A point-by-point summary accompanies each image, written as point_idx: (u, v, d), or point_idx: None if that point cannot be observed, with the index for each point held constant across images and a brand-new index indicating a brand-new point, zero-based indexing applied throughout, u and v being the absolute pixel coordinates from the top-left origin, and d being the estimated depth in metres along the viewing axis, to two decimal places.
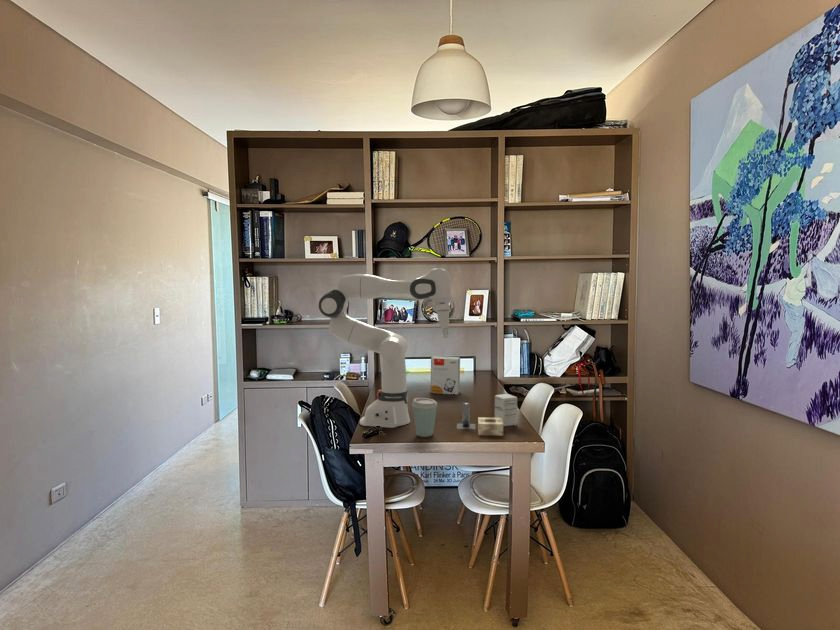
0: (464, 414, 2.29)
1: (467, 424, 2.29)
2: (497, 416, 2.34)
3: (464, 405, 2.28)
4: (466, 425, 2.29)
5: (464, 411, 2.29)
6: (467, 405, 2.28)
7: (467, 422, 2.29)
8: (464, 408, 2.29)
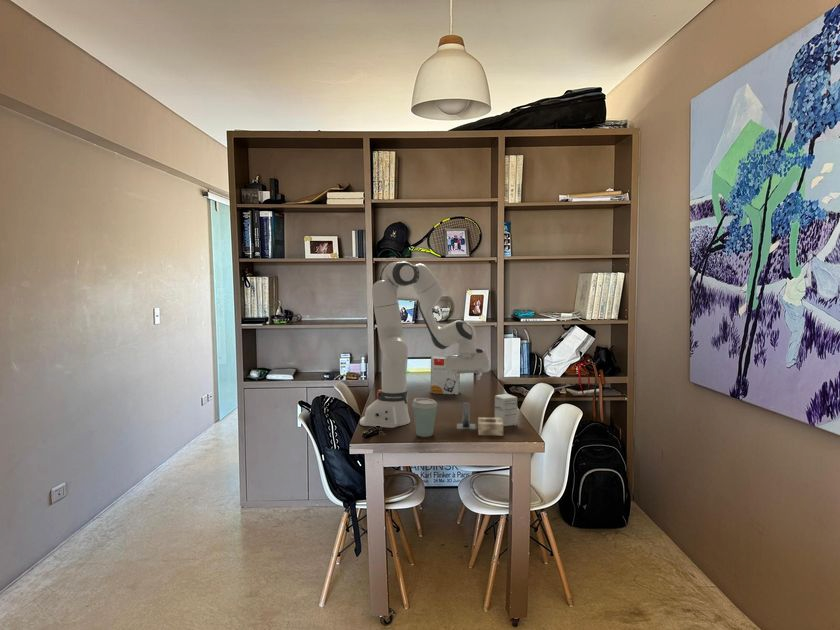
0: (464, 414, 2.29)
1: (467, 424, 2.29)
2: (497, 416, 2.34)
3: (464, 405, 2.28)
4: (466, 425, 2.29)
5: (464, 411, 2.29)
6: (467, 405, 2.28)
7: (467, 422, 2.29)
8: (464, 408, 2.29)
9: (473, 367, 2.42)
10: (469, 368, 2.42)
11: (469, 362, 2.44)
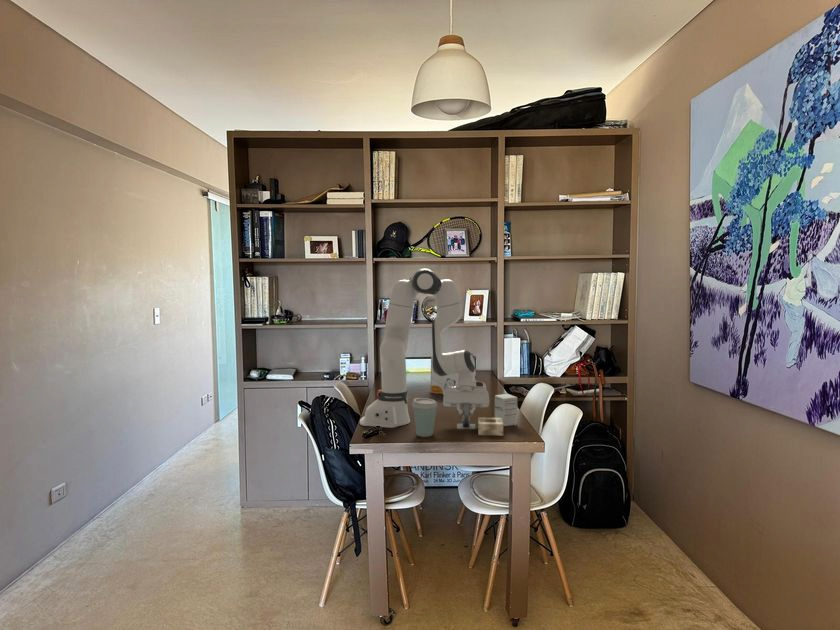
0: (464, 414, 2.29)
1: (467, 424, 2.29)
2: (497, 416, 2.34)
3: (464, 405, 2.28)
4: (466, 425, 2.29)
5: (464, 411, 2.29)
6: (467, 405, 2.28)
7: (467, 422, 2.29)
8: (464, 408, 2.29)
9: (472, 401, 2.31)
10: (468, 402, 2.31)
11: (468, 396, 2.33)
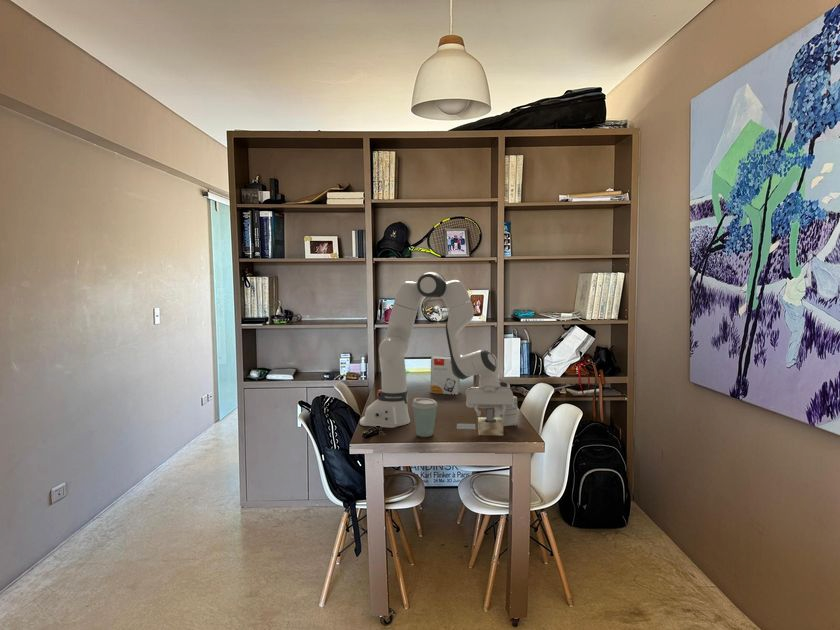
0: (488, 420, 2.21)
1: None
2: (497, 416, 2.34)
3: (488, 411, 2.21)
4: None
5: (488, 417, 2.21)
6: (491, 410, 2.21)
7: None
8: (488, 414, 2.21)
9: (497, 402, 2.23)
10: (492, 403, 2.23)
11: (492, 396, 2.25)
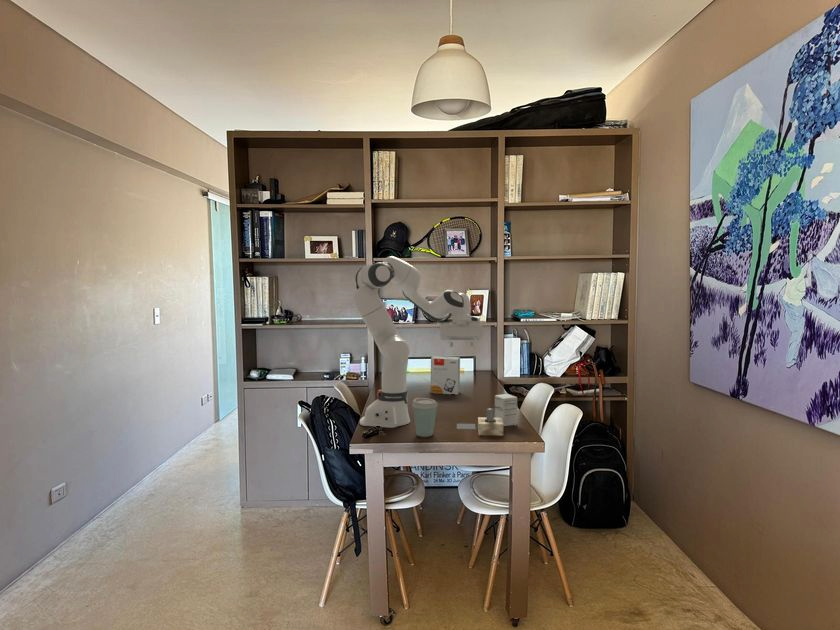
0: (488, 420, 2.21)
1: None
2: (497, 416, 2.34)
3: (488, 411, 2.21)
4: None
5: (488, 417, 2.21)
6: (491, 411, 2.21)
7: None
8: (488, 414, 2.21)
9: (468, 334, 2.43)
10: (464, 335, 2.43)
11: (464, 330, 2.45)
